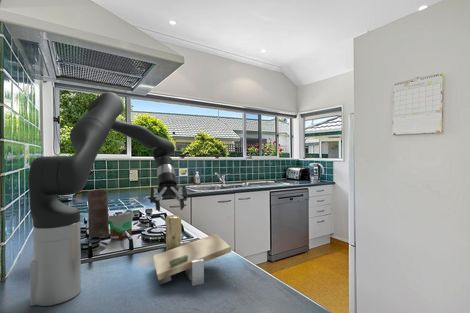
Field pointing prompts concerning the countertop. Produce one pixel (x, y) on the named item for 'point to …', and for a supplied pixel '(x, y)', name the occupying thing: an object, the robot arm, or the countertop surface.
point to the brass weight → (173, 231)
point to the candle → (98, 213)
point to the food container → (120, 225)
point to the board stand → (195, 270)
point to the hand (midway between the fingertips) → (170, 209)
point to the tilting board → (188, 256)
